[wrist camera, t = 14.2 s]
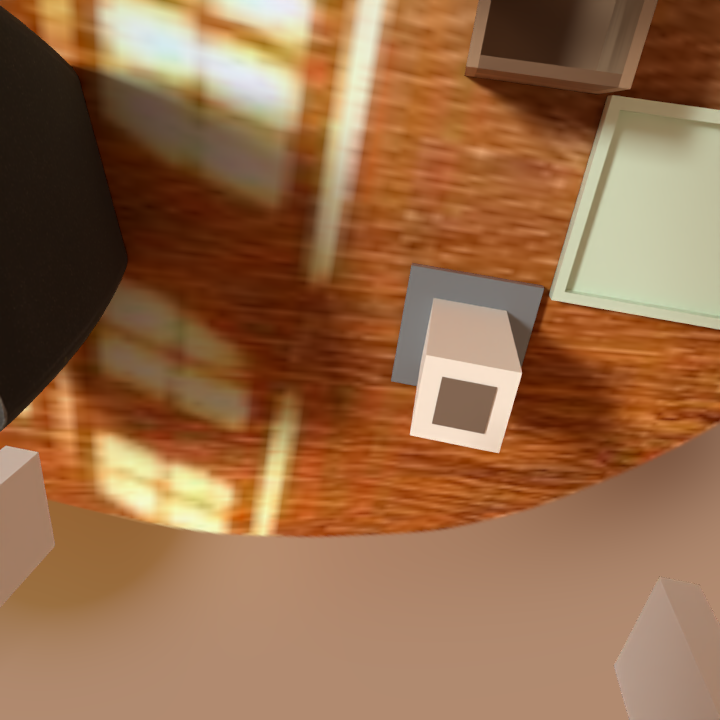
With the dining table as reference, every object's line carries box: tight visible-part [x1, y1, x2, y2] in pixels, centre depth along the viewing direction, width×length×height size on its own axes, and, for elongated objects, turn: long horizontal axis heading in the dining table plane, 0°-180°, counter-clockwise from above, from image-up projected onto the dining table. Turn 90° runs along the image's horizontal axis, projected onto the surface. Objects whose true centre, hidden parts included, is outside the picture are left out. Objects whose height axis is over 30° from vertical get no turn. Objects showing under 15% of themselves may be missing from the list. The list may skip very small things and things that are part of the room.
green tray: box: [549, 95, 720, 329], centre depth 30 cm, size 11×11×1 cm
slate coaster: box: [391, 263, 544, 386], centre depth 35 cm, size 8×8×1 cm
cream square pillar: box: [410, 298, 522, 453], centre depth 30 cm, size 5×5×9 cm
